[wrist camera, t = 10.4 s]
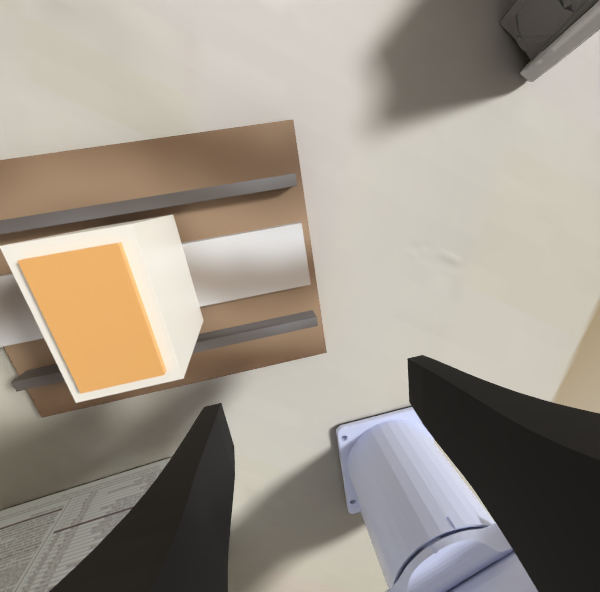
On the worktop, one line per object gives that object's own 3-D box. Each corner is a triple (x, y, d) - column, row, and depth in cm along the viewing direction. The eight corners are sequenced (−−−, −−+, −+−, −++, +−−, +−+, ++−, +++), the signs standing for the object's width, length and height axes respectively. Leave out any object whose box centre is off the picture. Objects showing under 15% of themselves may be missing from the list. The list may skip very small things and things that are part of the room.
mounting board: (322, 345, 21) (331, 361, 19) (51, 406, 19) (28, 431, 17) (290, 123, 17) (296, 113, 15) (-70, 174, 15) (-122, 170, 13)
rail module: (203, 320, 17) (182, 382, 12) (131, 335, 17) (71, 408, 11) (173, 214, 16) (128, 224, 10) (91, 228, 15) (-9, 247, 9)
